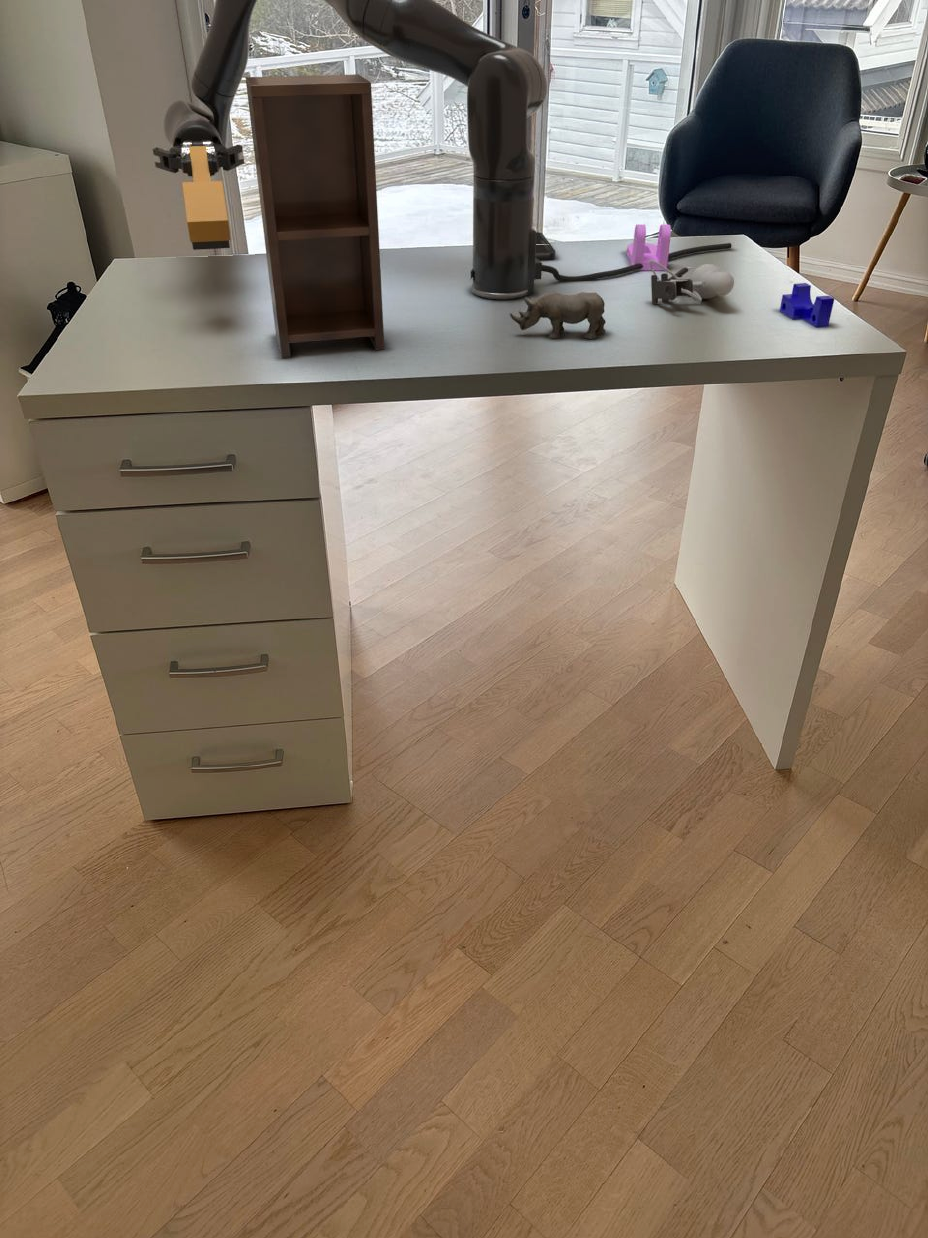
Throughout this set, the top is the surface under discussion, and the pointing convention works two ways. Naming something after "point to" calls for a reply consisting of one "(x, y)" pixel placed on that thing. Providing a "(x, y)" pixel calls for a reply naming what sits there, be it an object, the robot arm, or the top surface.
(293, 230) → the shelf
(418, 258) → the top surface
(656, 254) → the bracket
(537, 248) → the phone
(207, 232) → the brush
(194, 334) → the top surface
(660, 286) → the clip-on lamp
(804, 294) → the cable holder
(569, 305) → the rhino figurine
